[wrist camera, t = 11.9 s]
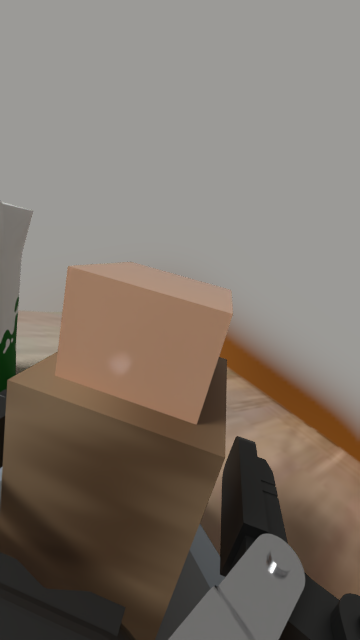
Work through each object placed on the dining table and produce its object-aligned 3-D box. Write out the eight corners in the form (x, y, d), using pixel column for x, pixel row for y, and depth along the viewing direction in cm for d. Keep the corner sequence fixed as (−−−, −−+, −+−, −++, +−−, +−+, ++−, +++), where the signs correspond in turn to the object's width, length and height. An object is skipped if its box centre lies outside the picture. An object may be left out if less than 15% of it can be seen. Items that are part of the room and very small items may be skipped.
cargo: (55, 375, 7) (67, 265, 6) (117, 332, 11) (131, 261, 10) (196, 424, 6) (233, 314, 5) (208, 361, 10) (231, 290, 9)
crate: (-8, 634, 9) (7, 379, 6) (77, 497, 15) (109, 322, 11) (130, 701, 9) (225, 458, 6) (167, 534, 14) (226, 359, 11)
